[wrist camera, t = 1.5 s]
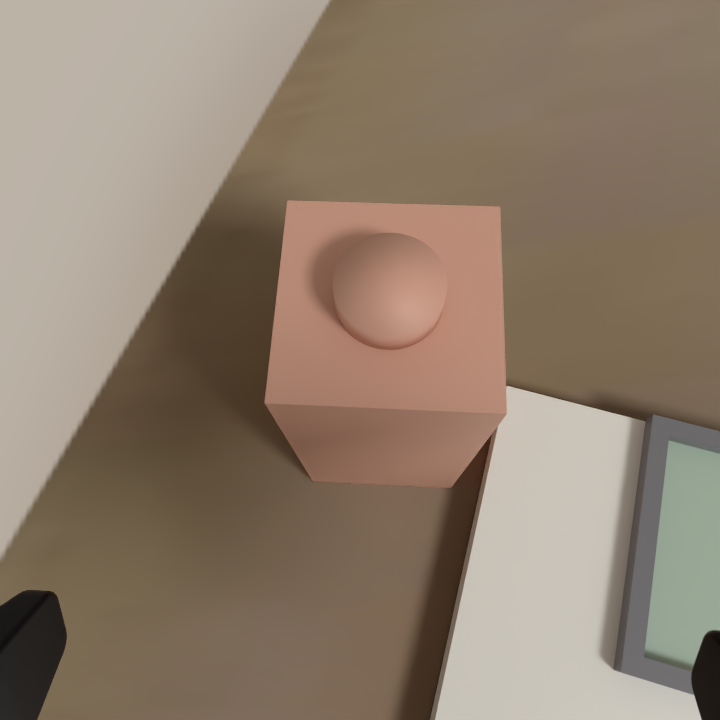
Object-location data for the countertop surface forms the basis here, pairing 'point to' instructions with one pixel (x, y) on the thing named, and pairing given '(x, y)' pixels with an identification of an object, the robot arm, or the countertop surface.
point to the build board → (585, 569)
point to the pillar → (388, 340)
